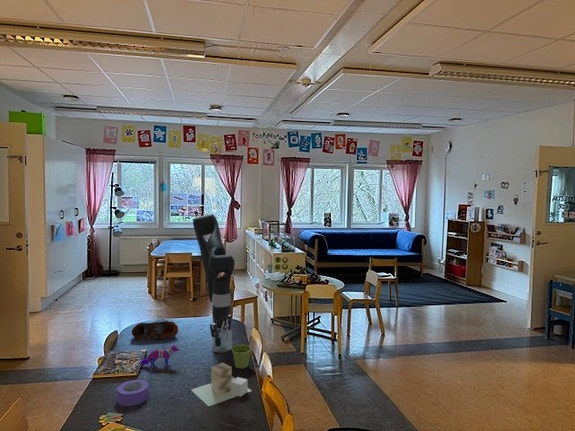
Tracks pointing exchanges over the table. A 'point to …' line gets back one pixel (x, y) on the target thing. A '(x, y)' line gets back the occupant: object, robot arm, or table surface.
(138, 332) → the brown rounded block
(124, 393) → the tape roll
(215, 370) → the tower top
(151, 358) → the toy dog
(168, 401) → the table surface
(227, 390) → the tower base
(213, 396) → the mat
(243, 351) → the plant pot
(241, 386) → the block
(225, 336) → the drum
